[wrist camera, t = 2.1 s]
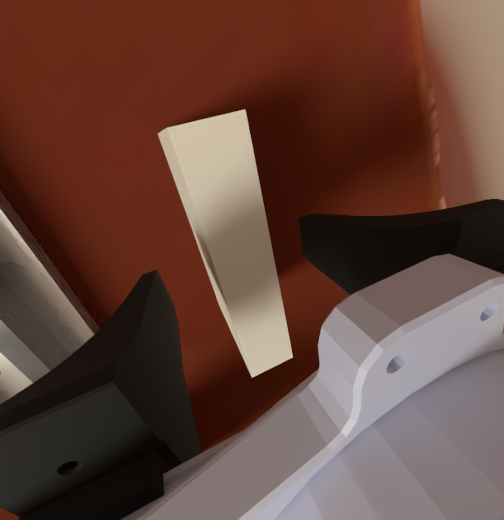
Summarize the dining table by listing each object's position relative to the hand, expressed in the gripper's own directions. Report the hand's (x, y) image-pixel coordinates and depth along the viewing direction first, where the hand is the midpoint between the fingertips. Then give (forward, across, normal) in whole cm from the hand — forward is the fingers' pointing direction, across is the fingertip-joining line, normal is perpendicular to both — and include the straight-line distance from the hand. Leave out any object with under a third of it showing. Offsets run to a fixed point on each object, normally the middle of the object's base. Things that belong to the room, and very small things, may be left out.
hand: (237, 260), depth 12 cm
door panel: (+5, 0, 0) cm, 5 cm away
